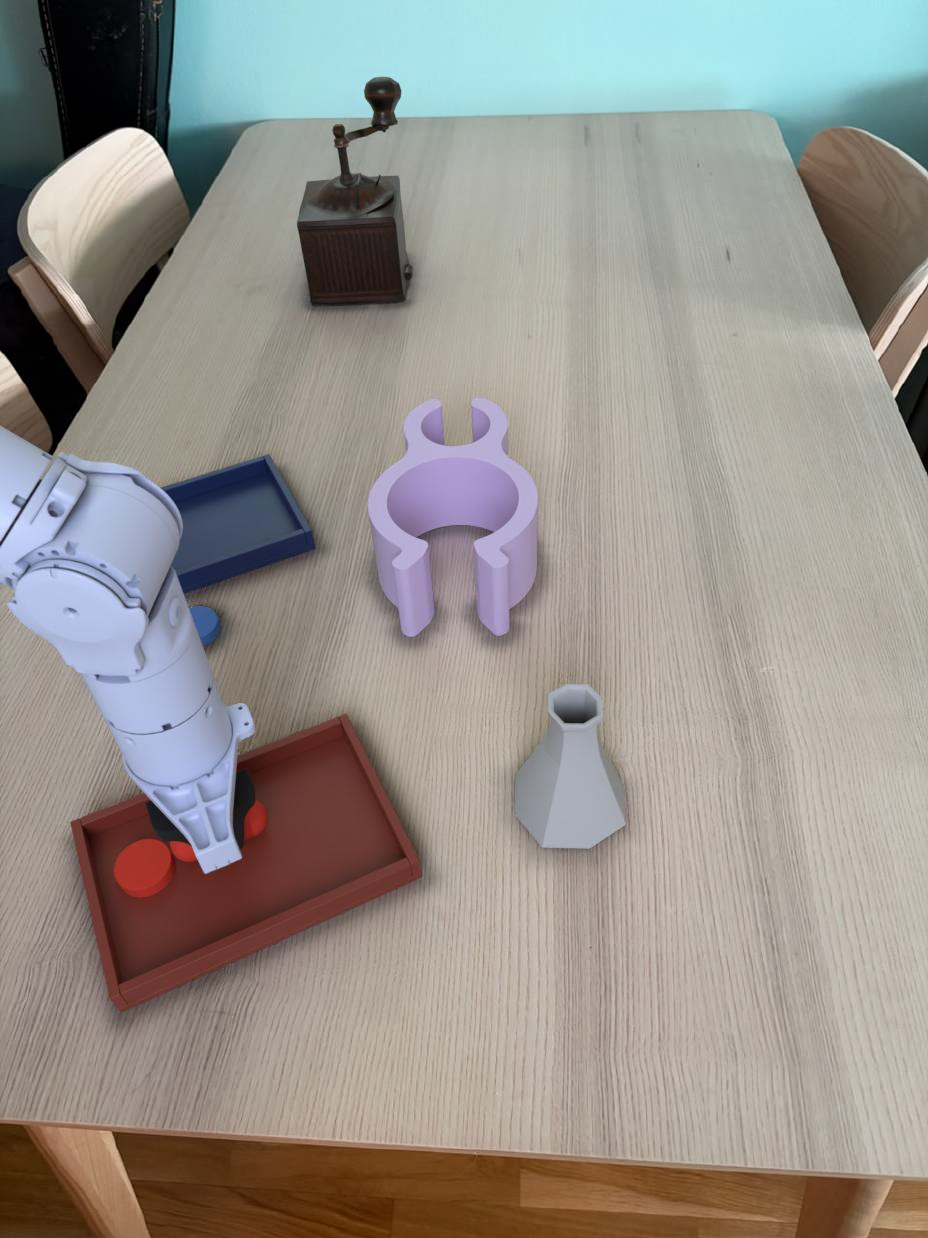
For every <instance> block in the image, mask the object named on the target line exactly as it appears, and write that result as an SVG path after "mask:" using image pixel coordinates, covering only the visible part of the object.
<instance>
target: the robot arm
mask: <svg viewBox="0 0 928 1238" xmlns="http://www.w3.org/2000/svg"><path fill="white" fill-rule="evenodd" d="M53 459H54V456H53V455H52V454H50V453H48V452H46V451H45V450H43V449H41V448H40V447H38V446H36V445H34V444H33V443H31V442H29V441H27V440H26V439H24V438H22V437H20V436H19V435H17V434H15V433H14V432H12V431H10V430H9V429H7V428H6V427H3V425H0V584H2V585H4V586H6V587H8V588H10V589H13V592H14V593H13V595H12V596H11V600H12V601H11V600H9V601H7V602H6V606H7V607H8V609H9V611H10V612H11V613H12V614H13V616H14V617H15V618H16V619H17V620H18V621H19V622H20V623H21V624H22V625H24V626H25V627H26V629H29V630H30V631H31V632H33V633H34V634H36V635H37V636H39V637H40V638H42V639H44V640H46V641H47V642H49V644H51V645H52V646H53V647H54V648H55V649H56V650H57V651H58V653H59V654H60V656H61V658H62V660H63V661H64V663H65V665H66V666H68V667H72V668H73V669H74V671H75V672H77V673H78V674H80V675H81V677H82V679H83V682H84V683H85V685H86V687H87V689H88V691H89V693H90V695H91V697H92V698H93V701H94V703H95V704H96V706H97V708H98V710H99V712H100V714H101V716H102V718H103V720H104V722H105V723H106V726H107V727H108V729H109V731H110V733H111V734H112V737H113V738H114V740H115V742H116V744H117V746H118V748H119V750H120V752H121V756H122V757H121V759H122V763H123V766H124V769H125V771H126V772H127V774H128V776H129V778H130V779H131V780H132V782H133V783H134V784H135V785H136V786H137V787H138V788H139V789H140V791H142V792H143V793H145V794H146V795H147V797H148V798H149V799H150V800H151V801H148V802H146V803H145V804H146V808H147V811H148V815H149V818H150V822H151V825H152V827H153V829H154V831H155V832H156V834H157V835H158V836H159V837H160V838H161V839H162V840H163V841H177V842H183V843H186V844H188V845H190V846H191V847H192V848H193V850H194V853H195V856H196V858H197V860H198V862H199V864H200V866H201V868H202V870H203V872H204V873H205V874H207V873H209V872H211V871H214V870H216V869H219V868H222V867H224V866H226V865H229V864H230V863H233V862H235V861H237V860H240V859H242V855H241V852H240V850H241V849H242V848H243V844H244V821H245V817H246V814H247V813H248V811H249V810H250V809H251V808H252V807H253V805H254V804H255V798H256V794H255V788H254V785H253V782H252V780H251V777H250V774H249V772H248V769H244V770H241V771H239V772H236V767H237V756H239V745H240V743H241V742H242V741H243V740H245V739H247V738H250V737H251V736H253V735H254V734H255V733H256V731H257V730H256V727H257V726H256V724H255V721H254V718H253V716H252V714H251V711H250V709H249V707H248V705H247V704H246V703H243V702H238V703H234V704H232V705H225V703H224V700H223V698H222V695H221V692H220V689H219V687H218V683H217V681H216V678H215V676H214V673H213V670H212V667H211V664H210V662H209V659H208V656H207V654H206V651H205V648H204V646H203V645H202V643H201V640H200V637H199V634H198V632H197V629H196V626H195V624H194V621H193V618H192V615H191V612H190V610H189V608H190V607H189V605H188V602H187V599H186V595H185V593H183V591H182V588H181V585H180V582H179V580H178V577H177V574H176V572H175V570H174V568H173V567H170V566H171V563H172V561H173V559H174V556H175V554H176V552H177V550H178V547H179V542H180V539H181V536H182V532H183V522H182V518H181V515H180V512H179V510H178V508H177V506H176V505H175V503H174V502H173V500H172V499H171V498H170V497H169V496H168V494H167V493H166V492H165V491H164V490H162V489H161V487H160V486H159V485H158V484H156V483H155V482H154V481H152V480H150V479H149V478H148V477H147V476H145V474H144V473H143V472H141V471H140V470H138V469H136V468H134V467H130V466H127V465H124V464H121V463H116V462H109V461H91V460H87V459H84V458H81V457H79V456H77V455H75V454H73V453H72V452H71V453H69V454H66V452H65V453H64V452H62V451H60V452H58V454H57V455H56V457H55V459H54V460H53ZM52 460H53V462H52ZM51 462H52V463H51ZM50 463H51V465H50ZM49 465H50V467H49ZM48 467H49V468H48ZM47 468H48V470H47ZM46 470H47V471H46ZM45 471H46V473H45ZM44 473H45V474H44ZM43 475H44V476H43ZM42 476H43V477H42ZM41 478H42V479H41Z"/></svg>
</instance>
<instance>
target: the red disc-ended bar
mask: <svg viewBox="0 0 928 1238" xmlns="http://www.w3.org/2000/svg"><path fill="white" fill-rule="evenodd" d="M267 821H268V814H267V810H266V808H265V806H264V805H263V804H262V803H261V802H260V801H258V800H256V799H255V804H254V805H253V807H252V808H251V809H250V810H249V811H248V813H247V814H246V817H245V821H244V841H245V840H248V839H250V838H252V837H255V836H257V835H259V834H260V833H261V832H262V831H263V830H264V828H265V827H266V824H267ZM170 847H171V850H172V853H173V854H174V855H175V857H177V858H178V859H180V860H181V861H185V862H194V861H198V860H197V858H196V856H195V853H194V850H193V848H192V847H191V846H190V845H188V844H186V843H183V842H177V841H170ZM172 853H171V851H170V850H169V848H168V847H167V845H166V844H164V843H163V842H161V841H159V840H156V839H143V840H139V841H136V842H134V843H132V844H131V845H129V846H128V847H126V848H125V849H124V850H123V851H122V852H121V853H120V855H119V856H118V858H117V860H116V862H115V866H114V876H115V879H116V881H117V882H118V884H119V885H120V887H121V889H122V890H123V891H124V892H125V893H127V894H128V895H130V896H133V897H148V896H151V895H154V894H156V893H158V892H159V891H161V890H162V889H163V888H165V887H166V886H167V885H168V883H169V882H170V881H171V879H172V877H173V875H174V872H175V860H174V857H173V855H172Z"/></svg>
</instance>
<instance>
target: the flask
mask: <svg viewBox="0 0 928 1238" xmlns="http://www.w3.org/2000/svg"><path fill="white" fill-rule="evenodd" d="M547 716H548V718H549V719H550V722H549V725H548V728H547V731H546V733H545V735H544V736H543V738H542V739H541V740H540V742H539V743H538V745H537V746H536V748H535V749H534V751H533V752H532V753H531V754H530V756H529V757H528V758H527V759H526V760H525V762H524V763H523V764H522V765H521V767H520V768H519V769H518V771H517V772H516V773H515V775H514V811H513V812H514V813H513V814H514V816H515V817H516V818H517V819H518V820H519V822H520V823H521V824H522V825H523V826H524V828H525V829H526V830H527V831H528V832H529V834H530V835H531V836H532V837H533V839H534V840H535V842H537V843H538V844H539V846H540V847H541V848H545V849H547V848H548V849H550V848H551V849H588V850H589V849H591V848H593V847H594V846H596V845H597V844H599V843H600V842H602V841H603V840H605V839H607V838H608V837H610V836H611V835H612V834H614V833H616V832H617V831H618V830H620V829H621V828H623V827H624V826H626V825H627V821H626V818H627V817H626V806H625V805H626V804H625V791H624V790H625V789H624V784H623V781H622V780H621V778H620V776H619V774H618V772H617V770H616V769H615V767H614V765H613V763H612V762H611V760H610V758H609V756H608V754H607V752H606V750H605V747H604V745H603V744H602V742H601V740H600V736H599V731H598V726H599V724H600V723H602V722H603V721H604V701H603V697H602V696H601V695H600V694H599V693H598V692H597V691H596V690H594V688H593V687H592V686H591V685H590V684H589V683H565V684H563V685H561V686H560V687H558V688H556V689H554V690H552V691H551V692H549V693H547Z"/></svg>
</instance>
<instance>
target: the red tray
mask: <svg viewBox="0 0 928 1238" xmlns="http://www.w3.org/2000/svg"><path fill="white" fill-rule="evenodd" d="M352 723H353V722H352V721H351V719H350V717H349V715H348V714H347V713H342V714H340V715H338V716H336V717H333V718H330V719H328V720H326V721H325V720H324V721H323V722H320V723H318V724H316V725H312V726H310V727H307V728H306V729H305V728H304V729H303V730H300V731H297V732H295V733H292V734H290V735H287V736H284V737H282V738H280V739H277V740H275V741H272V742H269V743H267V744H265V745H262V746H259V747H257V748H254V749H252V750H249V751H247V752H244V753H242V754H238V755H237V767H236V772H239V771H241V770H244V769H248V772H249V774H250V777H251V780H252V782H253V785H254V788H255V794H256V798H255V799H256V800H258V801H260V802H261V803H262V804H263V805H264V806H265V808H266V810H267V814H268V821H267V824H266V827H265V828H264V830H263V831H262V832H261V833H260V834H259V835H257V836H255V837H252V838H250V839H248V840H245V841H244V844H243V848H242V849H241V850H240V852H241V855H242V859H240V860H237V861H235V862H233V863H230V864H229V865H226V866H224V867H222V868H219V869H216V870H214V871H211V872H209V873H207V874H205V873H204V872H203V870H202V868H201V866H200V864H199V862H198V861H194V862H185V861H181V860H180V859H178V858H177V857H175V855H174V854H173V853H172V850H171V847H170V841H163V840H162V839H161V838H160V837H159V836H158V835H157V834H156V832H155V831H154V829H153V827H152V825H151V822H150V818H149V815H148V811H147V808H146V804H145V803H146V802H148V801H151V800H150V799H149V798H148V797H147V795H146V794H145V793H144V792H143V793H140V794H137V795H134V796H132V797H129V798H128V799H127V798H126V799H125V800H122V801H120V802H117V803H114V804H112V805H110V806H109V805H108V806H107V807H105V808H102V809H100V810H97V811H94V812H92V813H90V814H87V815H84V816H81V817H80V818H77V819H74V820H72V821H70V828H71V832H72V837H73V841H74V846H75V850H76V854H77V855H76V856H77V858H78V864H79V867H80V872H81V877H82V881H83V886H84V890H85V895H86V899H87V903H88V908H89V913H90V918H91V922H92V926H93V927H92V928H93V931H94V935H95V939H96V944H97V950H98V953H99V957H100V963H101V966H102V970H103V975H104V980H105V984H106V988H107V994H108V997H109V1000H110V1001H111V1003H112V1004H113V1005H114V1006H115V1007H116V1008H117V1010H118V1011H119V1013H124V1012H126V1011H128V1010H131V1009H133V1008H135V1007H137V1006H140V1005H142V1004H144V1003H146V1002H148V1001H151V1000H153V999H155V998H157V997H159V996H162V995H164V994H166V993H168V992H171V991H173V990H175V989H177V988H179V987H182V986H184V985H186V984H188V983H191V982H192V981H195V980H197V979H199V978H201V977H204V976H206V975H208V974H210V973H213V972H214V971H215V972H216V971H217V970H219V969H222V968H224V967H226V966H228V965H231V964H233V963H235V962H238V961H240V960H241V959H243V958H246V957H248V956H251V955H253V954H255V953H257V952H259V951H262V950H263V949H266V948H269V947H270V946H273V945H275V944H278V943H279V942H281V941H284V940H286V939H289V938H290V937H293V936H294V935H297V934H300V933H302V932H304V931H306V930H308V929H310V928H313V927H314V926H317V925H319V924H322V923H324V922H326V921H328V920H331V919H332V918H334V917H337V916H339V915H341V914H343V913H346V912H348V911H351V910H352V909H354V908H355V909H356V908H357V907H360V906H361V905H363V904H366V903H368V902H370V901H372V900H374V899H377V898H379V897H382V896H383V895H386V894H388V893H390V892H393V891H395V890H397V889H399V888H402V887H403V886H405V885H408V884H410V883H412V882H415V881H416V880H419V879H421V878H423V873H422V867H421V866H422V865H421V861H420V859H419V856H418V854H417V852H416V850H415V849H414V845H413V844H412V842H411V840H410V838H409V836H408V834H407V832H406V830H405V828H404V826H403V824H402V822H401V820H400V818H399V816H398V814H397V812H396V810H395V809H394V806H393V804H392V802H391V799H390V798H389V795H388V794H387V792H386V790H385V788H384V785H383V784H382V782H381V780H380V778H379V776H378V773H377V771H376V770H375V767H374V766H373V764H372V762H371V760H370V757H369V756H368V754H367V752H366V749H365V748H364V745H363V743H362V742H361V739H360V737H359V735H358V733H357V732H356V729H355V727H354V725H353V724H352ZM143 839H156V840H159V841H161V842H163V843H164V844H166V845H167V847H168V848H169V850H170V851H171V853H172V855H173V857H174V860H175V872H174V875H173V877H172V879H171V881H170V882H169V883H168V885H167V886H166V887H165V888H163V889H162V890H161V891H159V892H158V893H156V894H154V895H151V896H148V897H133V896H130V895H128V894H127V893H125V892H124V891H123V890H122V889H121V887H120V885H119V884H118V882H117V881H116V879H115V876H114V866H115V862H116V860H117V858H118V856H119V855H120V853H121V852H122V851H123V850H124V849H125V848H126V847H128V846H129V845H131V844H132V843H134V842H136V841H139V840H143Z"/></svg>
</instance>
